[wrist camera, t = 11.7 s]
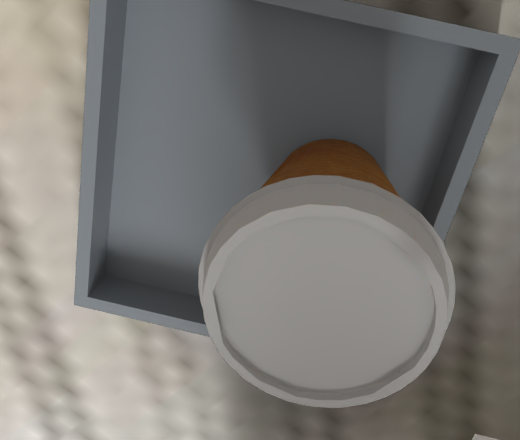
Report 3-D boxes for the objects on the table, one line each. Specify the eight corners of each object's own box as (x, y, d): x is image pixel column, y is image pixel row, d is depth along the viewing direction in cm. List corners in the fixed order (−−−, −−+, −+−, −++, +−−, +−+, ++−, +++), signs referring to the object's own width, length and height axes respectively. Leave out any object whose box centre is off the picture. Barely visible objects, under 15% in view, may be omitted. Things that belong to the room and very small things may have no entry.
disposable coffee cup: (285, 79, 26) (244, 141, 15) (449, 153, 26) (523, 265, 16) (224, 227, 30) (157, 357, 19) (366, 289, 30) (378, 451, 20)
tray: (498, 35, 25) (524, 39, 22) (382, 342, 33) (389, 379, 30) (121, -48, 25) (92, -56, 22) (97, 276, 33) (73, 304, 30)
